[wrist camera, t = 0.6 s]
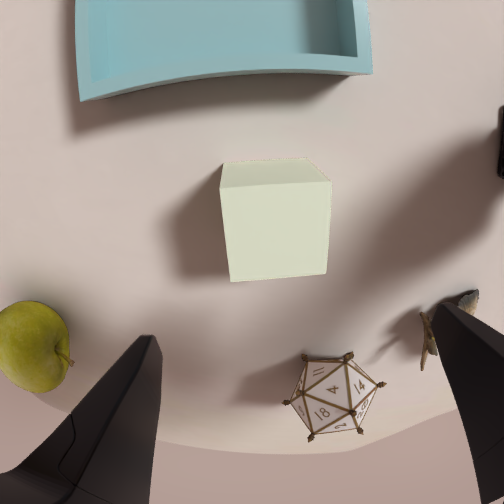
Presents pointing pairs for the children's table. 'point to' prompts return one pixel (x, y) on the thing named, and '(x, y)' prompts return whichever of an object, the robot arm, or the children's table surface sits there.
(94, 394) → the robot arm
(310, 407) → the game die
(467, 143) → the children's table surface
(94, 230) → the children's table surface
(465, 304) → the eagle figurine
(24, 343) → the apple
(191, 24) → the tray
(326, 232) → the sage block
